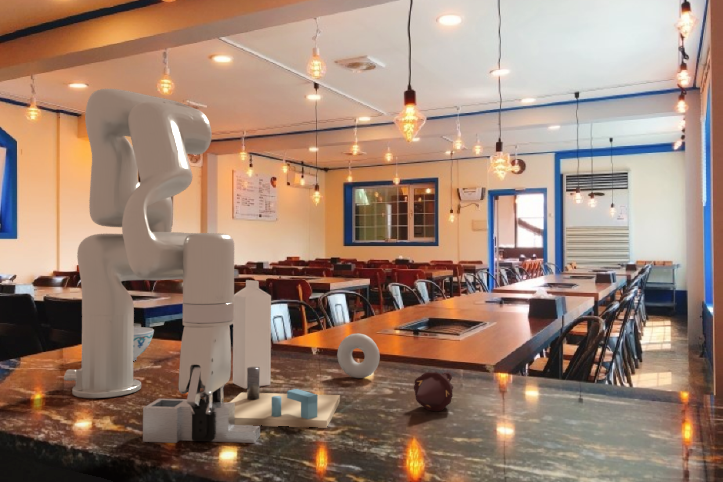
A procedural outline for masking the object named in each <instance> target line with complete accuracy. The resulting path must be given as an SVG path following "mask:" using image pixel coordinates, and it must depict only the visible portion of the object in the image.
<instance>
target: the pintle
mask: <svg viewBox="0 0 723 482" xmlns="http://www.w3.org/2000/svg"><path fill="white" fill-rule="evenodd" d="M259 375H260V367H248V368H247V388H246V389H247V390H246V393H247V399H248V400H257V399H259V393H260V386H259Z"/></svg>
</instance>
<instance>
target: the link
mask: <svg viewBox="0 0 723 482" xmlns="http://www.w3.org/2000/svg"><path fill="white" fill-rule="evenodd" d="M142 408H143V409H142V410H143V411H142V442H144V443H145V442H146V443H148V442H149V443H171V444H172V443H174V444H177V443H178V442H180V441H187V442H188V441H190V442H193V440H192V414H191V405H189V404H188V403H187V398H157V399H155V400H154V401H153V402H151V403H149V404H147V405H146V406H144V407H142ZM212 413H214V439H213V440H212V441H211V442H214V443H215V442H223V443H247V444H248V443H249V444H250V443H251V444H255V443H256V442H257V441H258V440H259V439H260V437H261V426H253V425H235V403H230V401H229V402H226V401H225V402H224V401H223V402H212Z"/></svg>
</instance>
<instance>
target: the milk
mask: <svg viewBox="0 0 723 482" xmlns="http://www.w3.org/2000/svg"><path fill="white" fill-rule="evenodd" d="M259 283H260V282H259V280H251V279H250V280H249V279H246V280H245V287H244V288H242V289H240V290H239V291H237V292H236V293H234V324H232V326H233V327H232V384H234V385H236V386H238V387H240V388H242V389H247V368H248V367H260V375H259V387H264V386H270V385H271V376H272V375H271V369H272V368H271V365H272V364H271V361H272V359H271V358H272V357H271V353H272V351H271V350H272V349H271V347H272V346H271V345H272V341H271V340H272V339H271V338H272V333H271V332H272V330H271V329H272V323H271V322H272V295H271V294H269V293H268V292H266V291H264V290H263V289H261V288H260V286H259V285H260V284H259Z"/></svg>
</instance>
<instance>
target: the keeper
mask: <svg viewBox="0 0 723 482" xmlns="http://www.w3.org/2000/svg"><path fill="white" fill-rule="evenodd" d="M286 394H287V398H289V399H292V400H295V401H299V402H301V417H302V418H305V419H311V418H315V417H317V401H318V395H319V394H316V393H313V392H309V391H306V390H302V389H298V388H293V389H291V390H290V389H289V390H287V391H286ZM271 416H272V417H279V416H281V396H273V397H272V415H271Z"/></svg>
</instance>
